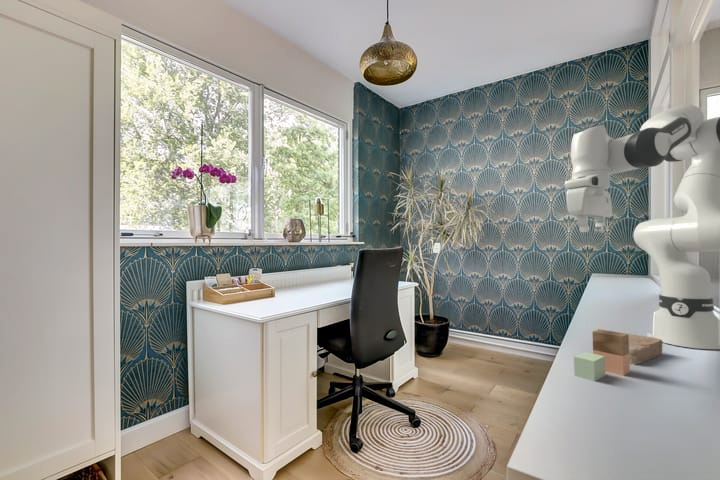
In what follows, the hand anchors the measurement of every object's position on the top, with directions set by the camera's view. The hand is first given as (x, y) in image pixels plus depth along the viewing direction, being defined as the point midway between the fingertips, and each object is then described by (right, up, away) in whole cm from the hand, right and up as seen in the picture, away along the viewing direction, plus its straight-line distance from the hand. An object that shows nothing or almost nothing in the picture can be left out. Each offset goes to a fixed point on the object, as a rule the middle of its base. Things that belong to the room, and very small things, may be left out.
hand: (591, 232), depth 93 cm
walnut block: (-5, -29, -13) cm, 32 cm away
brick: (+9, -34, -3) cm, 36 cm away
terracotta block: (-5, -34, -13) cm, 36 cm away
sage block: (-12, -34, -16) cm, 39 cm away
